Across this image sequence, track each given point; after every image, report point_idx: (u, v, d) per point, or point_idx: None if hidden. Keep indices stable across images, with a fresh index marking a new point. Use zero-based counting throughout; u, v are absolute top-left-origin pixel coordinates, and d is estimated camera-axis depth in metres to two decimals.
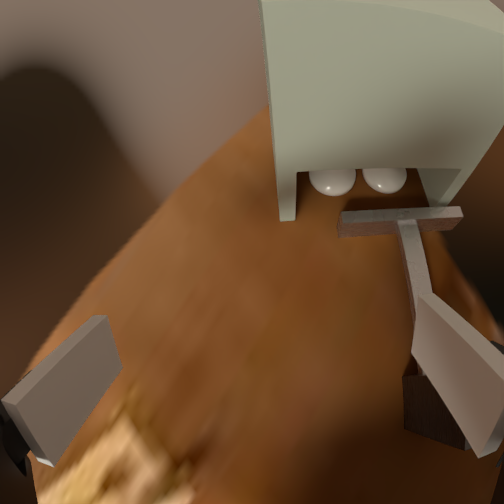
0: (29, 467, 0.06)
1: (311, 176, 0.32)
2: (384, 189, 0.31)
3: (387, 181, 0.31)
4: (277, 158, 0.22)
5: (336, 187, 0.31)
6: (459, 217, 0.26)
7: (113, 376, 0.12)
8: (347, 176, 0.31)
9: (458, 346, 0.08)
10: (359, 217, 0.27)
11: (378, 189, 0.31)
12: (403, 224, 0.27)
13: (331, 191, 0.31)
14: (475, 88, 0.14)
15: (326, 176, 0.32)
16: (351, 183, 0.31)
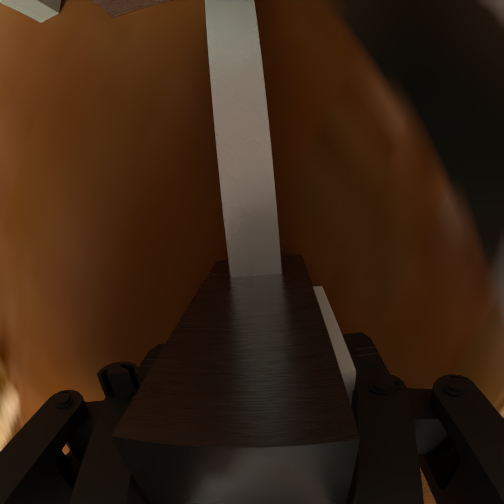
0: None
1: None
2: None
3: None
4: None
5: None
6: None
7: None
8: None
9: None
10: None
11: None
12: None
13: None
14: None
15: None
16: None
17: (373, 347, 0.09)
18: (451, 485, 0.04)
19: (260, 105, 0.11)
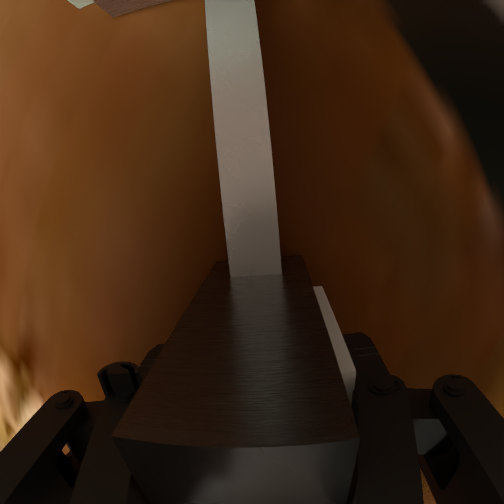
0: None
1: None
2: None
3: None
4: None
5: None
6: None
7: None
8: None
9: None
10: None
11: None
12: None
13: None
14: None
15: None
16: None
17: (373, 347, 0.09)
18: (451, 485, 0.04)
19: (259, 105, 0.11)
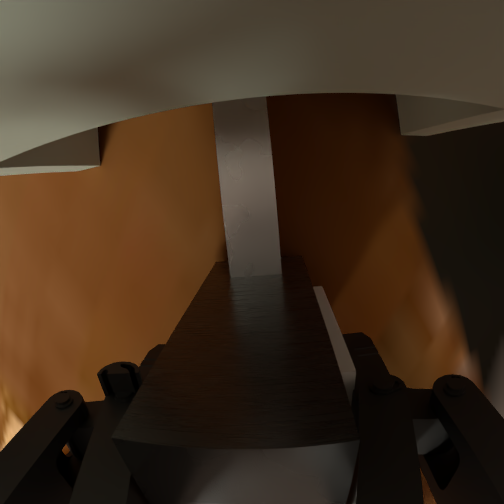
0: None
1: None
2: None
3: None
4: None
5: None
6: None
7: None
8: None
9: None
10: None
11: None
12: None
13: None
14: None
15: None
16: None
17: (373, 347, 0.09)
18: (451, 485, 0.04)
19: (259, 105, 0.11)
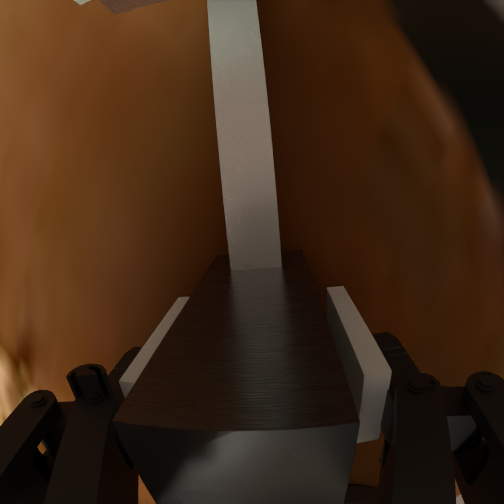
0: None
1: None
2: None
3: None
4: None
5: None
6: None
7: None
8: None
9: (342, 333, 0.10)
10: None
11: None
12: None
13: None
14: None
15: None
16: None
17: (401, 347, 0.09)
18: (479, 480, 0.04)
19: (260, 101, 0.11)
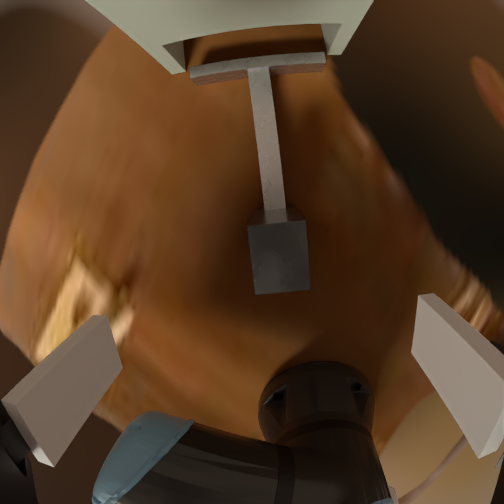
0: (29, 467, 0.06)
1: None
2: None
3: None
4: (138, 42, 0.20)
5: None
6: (322, 63, 0.26)
7: (113, 376, 0.12)
8: None
9: (458, 346, 0.08)
10: (206, 70, 0.26)
11: None
12: (253, 71, 0.27)
13: None
14: None
15: None
16: None
17: None
18: None
19: (275, 140, 0.28)
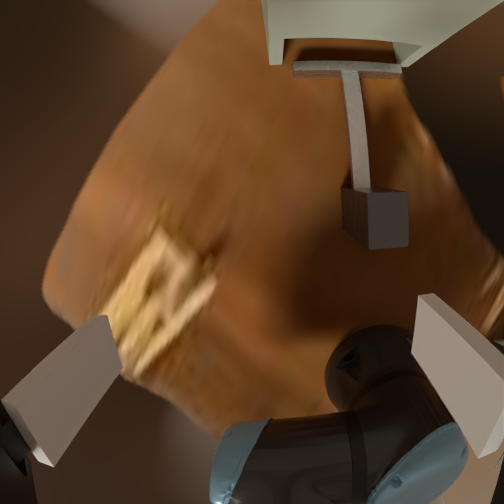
0: (29, 467, 0.06)
1: None
2: None
3: None
4: (269, 32, 0.24)
5: None
6: (398, 73, 0.30)
7: (113, 376, 0.12)
8: None
9: (458, 346, 0.08)
10: (308, 66, 0.30)
11: None
12: (346, 73, 0.31)
13: None
14: (435, 6, 0.15)
15: None
16: None
17: None
18: None
19: (364, 131, 0.32)
